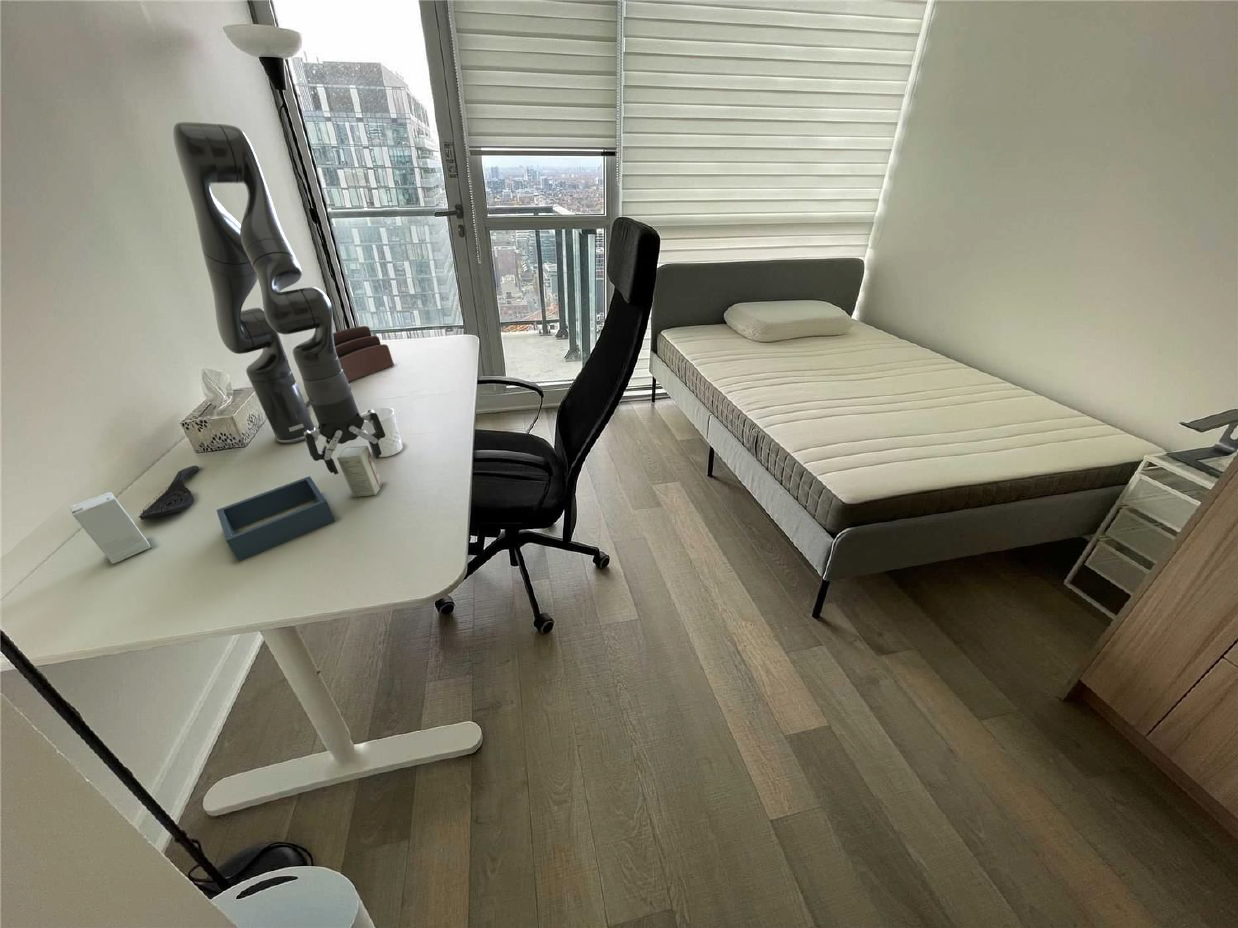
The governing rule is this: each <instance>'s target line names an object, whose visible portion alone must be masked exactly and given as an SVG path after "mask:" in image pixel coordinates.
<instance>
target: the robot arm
mask: <svg viewBox="0 0 1238 928" xmlns="http://www.w3.org/2000/svg"><path fill="white" fill-rule="evenodd" d="M172 136H173V144H174V148H175V151H176V155H177V158H178V162H179V165H180V168H181V170H182V174H183V178H184V180H185V184H186V187H187V191H188V193H189V197H190V200H191V203H192V207H193V211H194V215H195V221H196V225H197V229H198V235H199V240H200V241H199V242H200V246H201V250H202V254H203V258H204V262H205V266H206V269H207V273H208V276H209V280H210V283H211V289H212V293H213V302H214V309H215V311H214V312H215V318H216V326H217V331H218V333H219V336H220V339H221V341H222V342H223V344H224V346H225V347H226V348H227V349H228V351H230V352H231V353H233V354H236V355H243V354H249V353H252V352H255V351H259V350H262V352H261V353H260V355H259V357H258V358H256V359H255V360H254V361H253V362H251V363H250V364H249V365H248V366H247V367H246V369H245V372H246V375H247V378H248V380H249V382H250V384H251V386H252V388H253V391H254V393H255V395H256V397H257V399H258V401H259V403H260V405H261V407H262V410H263V411H264V414H265V416H266V419H267V420H268V423H269V425H270V427H271V429H272V431H273V434H274V435H275V439H276V441H277V442H278V443H279V444H293V443H298V442H302V441H305V443H306V446H307V449H308V452H309V455H310V456H311V457H312V459H313V461H315V462H317V461H321V460H322V461H324V464H325V466H326V468H327V470H328V472H329V473H331V474H334V475H338V474H339V471H338V468H337V466H336V463H335V461H334V459H333V457H332V455H333V454H334V451H336V448H337V446H338V444H339V445H342V444H346V443H347V442H351V441H355V440H357V438H358V437H360V438H362V439H363V440H366V441H367V442H368V441H369V442H368V444H369V447H370V451H371V453H372V454H373V457H374V458H375V460H378V459H381V457H380V456H379V455H381V450H380V447H379V444H378V441H379V439H381V438H384V437H385V432H384V430H383V428H382V425H381V423H380V420H379V418H378V415H377V414H376V413H375V412H374V411H373V410H372V409H368V410H367V411H368V413H366V414H363V413H362V414H363V415H361V414H360V412H359V409H358V406H357V403H356V401H355V398H354V395H353V392H352V387H351V385H350V382H348V380H347V378H346V376H345V374H344V372H343V370H342V367H341V365H340V362H339V359H338V356H337V353H336V350H335V345H334V338H333V333H334V320H333V319H334V317H333V316H334V315H333V307H332V303H331V301H330V299H329V297H328V296H327V294H325V292H324V291H323V290H321V289H320V288H318V287H316V286H308V287H301V288H296V289H291V290H286V291H285V290H284V289H287V288H289V287H291V286H293V285H295V284H296V283H298V282H299V281H300V279H301V278H302V276H303V275H302V273H303V271H302V268H301V265H300V263H299V261H298V260H297V258H296V255H295V253H294V251H293V250H292V248H291V245H290V243H289V241H288V240H287V237H286V236H285V233H284V231H283V229H282V227H281V223H280V221H279V219H278V215H277V213H276V209H275V206H274V203H273V200H272V197H271V195H270V192H269V189H268V186H267V182H266V180H265V177H264V174H263V171H262V168H261V166H260V163H259V160H258V157H257V154H256V152H255V150H254V148H253V146H252V144H251V141H250V140H249V138H248V137H247V135H246V134H245V133H244V131H243V130H242V129H241V128H239V127H237V126H235V125H231V124H222V123H211V122H210V123H209V122H194V121H193V122H192V121H191V122H190V121H180V122H176V123H174V126H173V128H172ZM213 184H214V185H215V184H244V186H245V188H246V191H247V201H246V206H245V210H244V213H243V216H242V220H241V223H240V222H239V221H238V220H237V219H236V218H235V217H234V216H233V215H232V214H230V213H229V212H228V211H227V209H226V208H225V207H224V206H223V205H222V203H220V201H219V200H218V199H217V198H216V197H215V195H214V194H213V192H212V189H211V186H212V185H213ZM257 282H258V283H259V286H260V287H259V288H260V292H261V298H262V307H253V308H247V309H243V306H244V303H245V302H246V300H247V298H248V297H249V295H250V294H251V292H252V290H253V289H254V287H255V285H256V284H257ZM282 290H284V291H282ZM242 309H243V310H242ZM311 330H314V333H313V335H312V337H310V338H308V339H307V340H306V341H303V342H301V343H299V344H298V345H296V346H294V347H293V349H292V356H293V359H294V362H295V364H296V366H297V369H298V371H299V374H300V376H301V379H302V382H303V387H304V390H305V393H306V396H307V398H308V401H306V402H305V401H304V398H303V395H302V393H301V391H300V388H299V386H298V384H297V381H296V379H295V376H294V373H293V372H292V369H291V367H290V364H289V363H290V362H289V359H288V357H287V354H286V352H285V349H284V346H283V343H282V340H281V337H280V334H281V335H293V334H298V333H302V332H305V331H311ZM309 405H310V406H311V409H312V410H313V413H314V415H315V418H316V420H317V423H318V428H316V426H315V424H314V421H313V420H312V418H311V415H310V412H309V410H308V406H309ZM364 420H367V421H368V422H369V423H372V425H373V427H374V430H375V433H373V434H370V433H369V432H367V431H365V430H364V429H363V427H362V426H363V424H364ZM320 436H322V437H324V438H325V439H324V441H323V447H322V448H321V451H319V450H318V449H319V448H318V447H317V444H316V442H317V441H318V440H319V437H320Z"/></svg>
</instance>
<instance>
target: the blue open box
mask: <svg viewBox="0 0 1238 928" xmlns="http://www.w3.org/2000/svg"><path fill="white" fill-rule="evenodd" d="M312 500H315V502H314V503H312V504H309V505H307V506H304V507H302V508H299V509H296V510H294V511H291V512H289V513H286V514H283V515H281V516H279V517H276V518H273V519H271V520H268V521H266V522H263V523H261V524H258V525H256V526H253V527H251V528H250V527H249V528H248V529H245V530H243V531H241V532H238V533H236V530H237V529H240V528H243V527H245V526H247V525H250V524H252V523H255V522H257V521H260V520H263V519H265V518H268V517H270V516H273V515H276V514H278V513H281V512H284V511H286V510H289V509H291V508H294V507H296V506H299V505H302V504H304V503H306V502H309V501H312ZM216 513H217V516H218V519H219V522H220V526H221V529H222V533H223V535H224V538H225V541H226V543H227V545H228V547H229V548H230V550H231V552H232V553H233V555H234V556H235V558H236V560H237V562H241V561H243V560H245V559H247V558H251V557H253V556H255V555H257V554H260V553H262V552H264V551H267V550H269V549H271V548H274V547H276V546H279V545H281V544H284V543H286V542H288V541H290V540H293V539H295V538H298V537H300V536H303V535H306V534H307V533H310V532H313V531H315V530H318V529H320V528H322V527H325V526H328V525H329V524H332V523H334V522H336V519H335V517H334V515H333V513H332V510H331V508H330V506H329V503H328V501H327V499H326V498H325V496H324V495H323V493H322V492H321V490H320V489H319V487H318V486H317V484H316V483H315V481H314V480H313V479H312V477H311V476H310V475H309V476H306V477H303V478H300V479H298V480H294V481H292V482H289V483H287V484H284V485H280V486H278V487H275V488H273V489H269V490H268V491H264V492H262V493H259V494H256V495H253V496H251V497H248V498H246V499H242V500H239V501H237V502H234V503H231V504H228V505H226V506H223V507H220V508H218V509H216Z"/></svg>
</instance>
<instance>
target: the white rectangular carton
mask: <svg viewBox="0 0 1238 928" xmlns="http://www.w3.org/2000/svg"><path fill="white" fill-rule="evenodd" d="M336 460H337V461H338V464H339V465H340V469H341V471H342V474H343V476H344V478H345V480H346V483H347V485H348V488H349V490H350V493H351V495H352V497H353V498H356V497H357V498H358V497H369V496H376V495H377V493H378V492H379V491H380V489H381V488H382V486H383V483H382V480H381V477H380V475H379V472H378V470H377V467H376V464H375V461H374V459H373V457H372V454H371V450H370V449H369V446H368V445H364V446H363V445H361V446H351V447H344V449H343V450H342V451H341V452H340V453H339V454H338V455H337V457H336Z"/></svg>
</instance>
